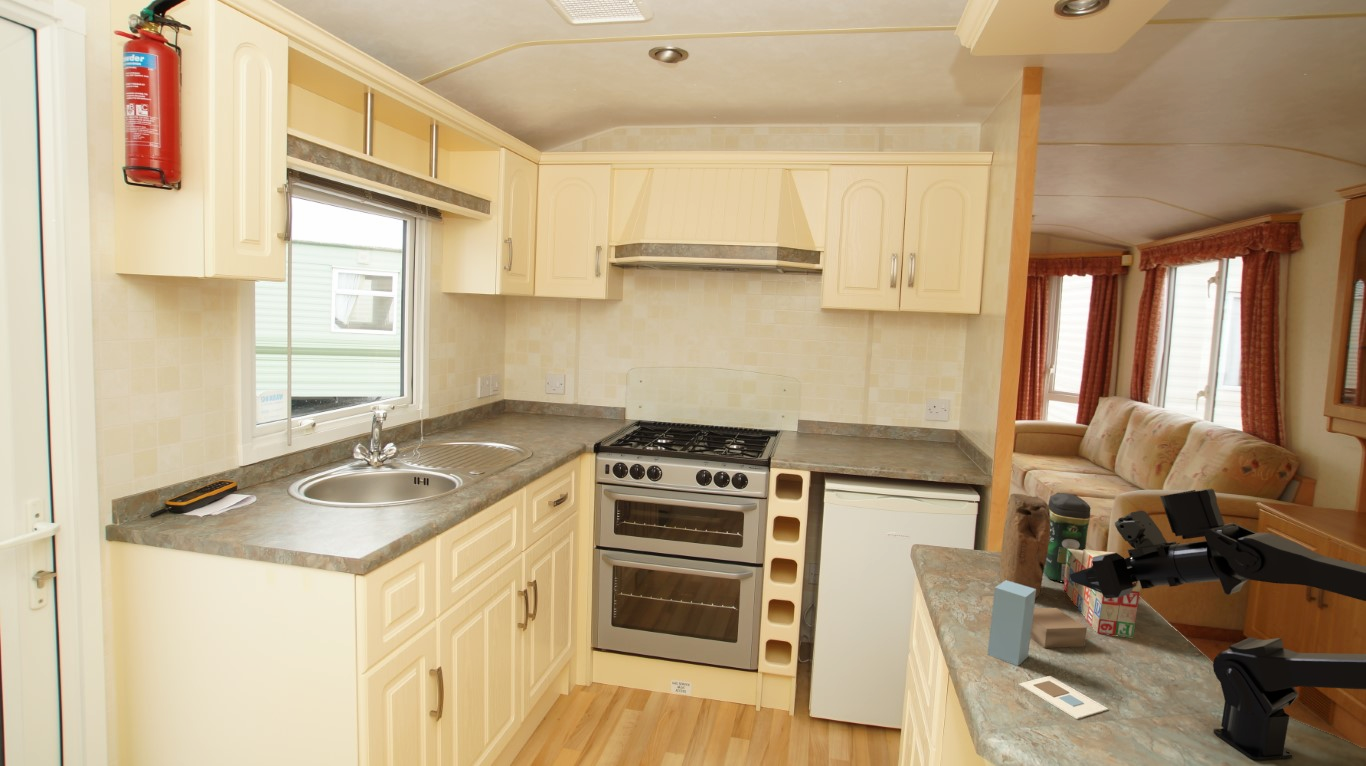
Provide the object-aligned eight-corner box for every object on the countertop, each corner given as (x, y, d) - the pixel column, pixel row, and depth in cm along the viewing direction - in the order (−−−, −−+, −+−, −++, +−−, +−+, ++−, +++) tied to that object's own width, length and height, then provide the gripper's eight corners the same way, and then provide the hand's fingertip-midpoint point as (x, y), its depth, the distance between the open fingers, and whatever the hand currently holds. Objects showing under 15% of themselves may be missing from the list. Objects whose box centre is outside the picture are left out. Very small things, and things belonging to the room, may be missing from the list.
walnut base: (1084, 646, 130) (1087, 627, 129) (1044, 647, 128) (1046, 628, 128) (1054, 625, 138) (1056, 608, 137) (1016, 626, 136) (1018, 609, 136)
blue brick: (1028, 656, 125) (1036, 589, 123) (1017, 665, 121) (1025, 597, 120) (998, 645, 128) (1005, 580, 127) (987, 654, 125) (994, 587, 123)
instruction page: (1108, 709, 109) (1108, 707, 109) (1076, 719, 106) (1076, 717, 106) (1049, 676, 118) (1049, 675, 118) (1019, 684, 115) (1019, 682, 115)
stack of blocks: (1061, 589, 156) (1068, 534, 155) (1093, 593, 155) (1100, 537, 153) (1097, 634, 135) (1105, 570, 134) (1134, 639, 134) (1143, 575, 132)
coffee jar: (1037, 566, 169) (1046, 488, 167) (1074, 571, 167) (1084, 492, 165) (1045, 581, 160) (1055, 499, 158) (1085, 587, 158) (1096, 503, 156)
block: (996, 578, 160) (1006, 490, 158) (1033, 583, 158) (1043, 494, 156) (1006, 598, 150) (1016, 503, 147) (1045, 603, 148) (1057, 507, 145)
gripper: (1196, 503, 116) (1102, 518, 129) (1133, 516, 106) (1038, 531, 119) (1222, 574, 113) (1123, 583, 126) (1159, 595, 103) (1059, 602, 116)
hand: (1086, 573), depth 122 cm, fingers open, 9 cm apart
